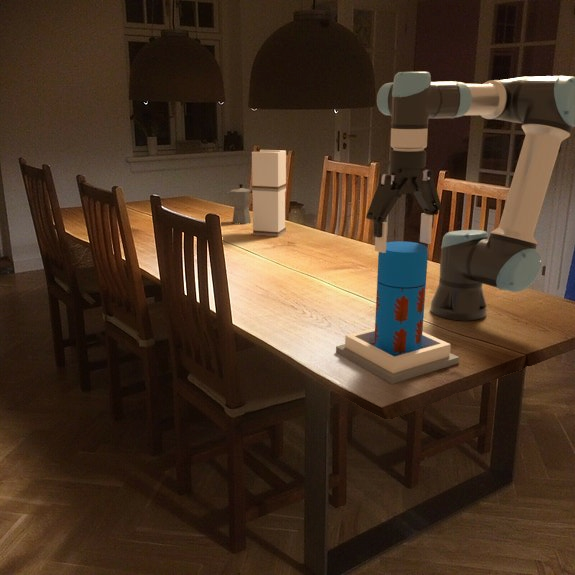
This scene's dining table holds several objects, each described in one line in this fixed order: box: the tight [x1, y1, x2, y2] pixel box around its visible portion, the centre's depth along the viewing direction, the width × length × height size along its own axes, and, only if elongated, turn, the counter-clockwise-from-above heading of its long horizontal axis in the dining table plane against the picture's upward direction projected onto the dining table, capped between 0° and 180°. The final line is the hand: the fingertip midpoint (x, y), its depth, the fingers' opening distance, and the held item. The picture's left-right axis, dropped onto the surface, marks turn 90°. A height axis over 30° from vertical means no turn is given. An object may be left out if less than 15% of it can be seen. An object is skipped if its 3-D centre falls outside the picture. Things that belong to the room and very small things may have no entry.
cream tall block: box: [251, 149, 287, 238], centre depth 269 cm, size 11×11×35 cm
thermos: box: [374, 240, 429, 357], centre depth 143 cm, size 11×11×25 cm
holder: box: [335, 327, 460, 385], centre depth 146 cm, size 20×20×4 cm
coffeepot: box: [227, 183, 253, 225], centre depth 294 cm, size 15×9×18 cm, turn 117°
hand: (403, 247), depth 139 cm, fingers open, 13 cm apart
